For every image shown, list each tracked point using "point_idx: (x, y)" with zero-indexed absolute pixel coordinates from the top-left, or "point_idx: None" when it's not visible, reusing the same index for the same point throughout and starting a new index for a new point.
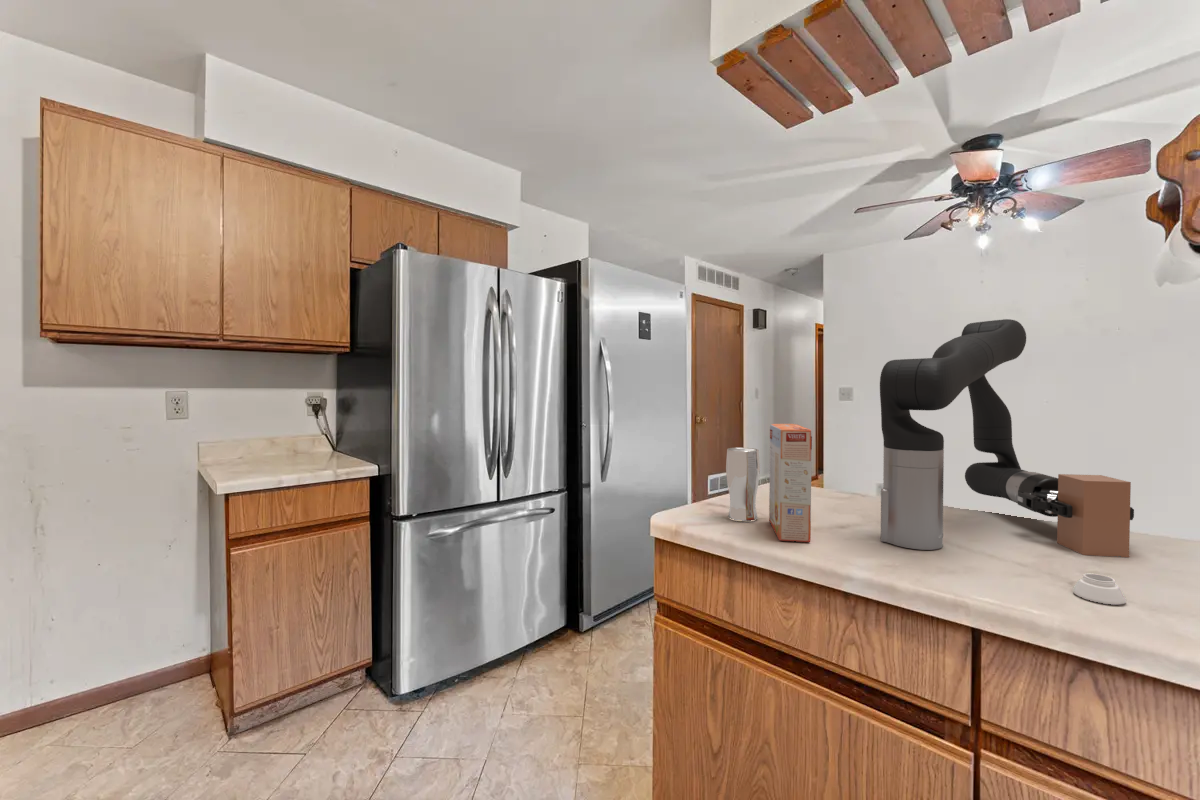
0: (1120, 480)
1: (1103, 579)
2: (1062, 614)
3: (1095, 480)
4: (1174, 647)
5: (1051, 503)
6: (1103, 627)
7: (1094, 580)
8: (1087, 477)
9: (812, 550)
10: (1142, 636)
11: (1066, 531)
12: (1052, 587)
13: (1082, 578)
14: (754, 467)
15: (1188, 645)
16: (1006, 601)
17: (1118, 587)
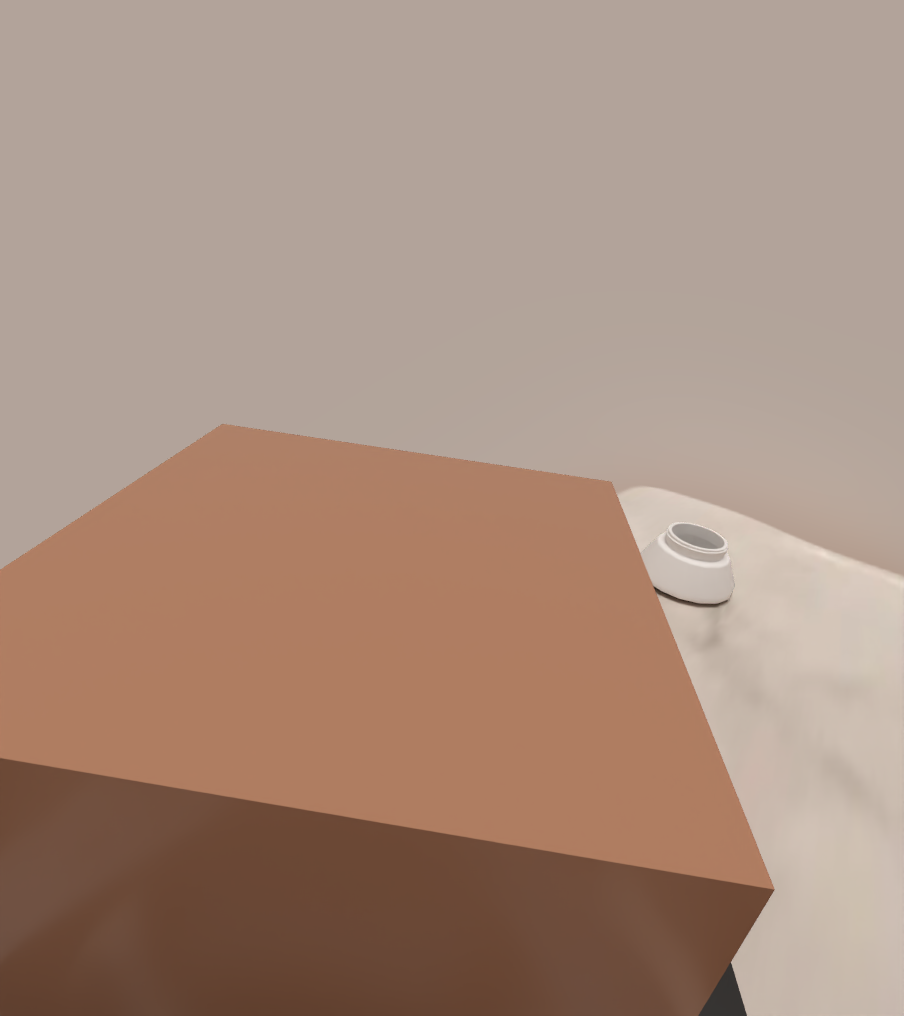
0: (209, 458)
1: (679, 549)
2: (777, 545)
3: (484, 480)
4: (653, 488)
5: (736, 985)
6: (724, 519)
7: (712, 532)
8: (417, 573)
9: None
10: (679, 503)
11: None
12: (769, 623)
13: (720, 564)
14: None
15: (630, 489)
16: (875, 581)
17: (662, 533)
